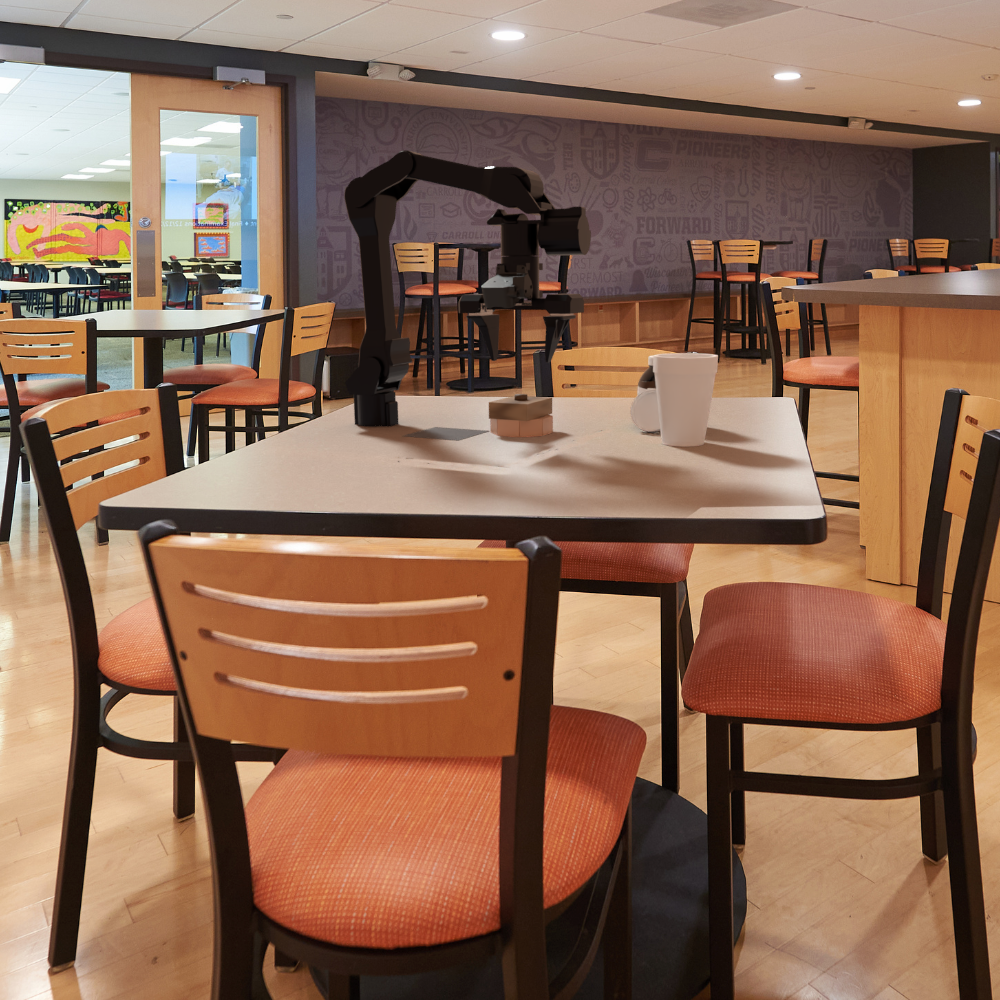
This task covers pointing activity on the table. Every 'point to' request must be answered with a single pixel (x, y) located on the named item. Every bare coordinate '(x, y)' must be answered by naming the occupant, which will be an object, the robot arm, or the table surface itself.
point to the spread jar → (646, 402)
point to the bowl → (522, 427)
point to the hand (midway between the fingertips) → (520, 361)
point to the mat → (446, 433)
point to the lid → (520, 408)
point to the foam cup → (684, 396)
